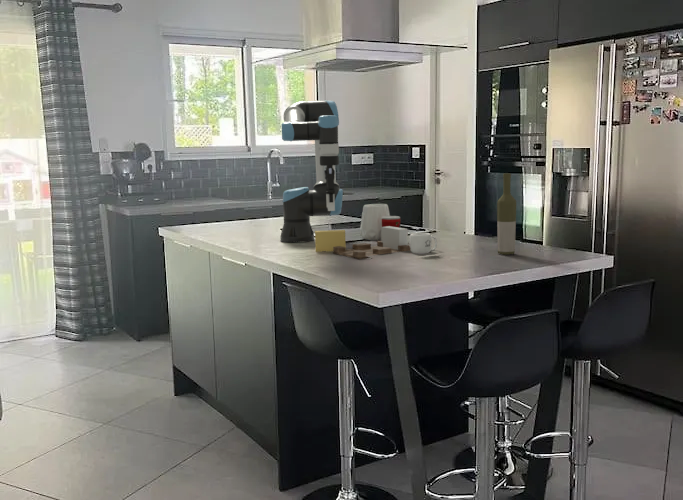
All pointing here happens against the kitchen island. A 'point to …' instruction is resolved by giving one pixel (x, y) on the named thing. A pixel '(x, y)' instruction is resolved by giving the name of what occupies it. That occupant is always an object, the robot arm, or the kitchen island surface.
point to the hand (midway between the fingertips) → (330, 209)
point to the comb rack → (367, 250)
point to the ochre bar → (329, 240)
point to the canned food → (391, 221)
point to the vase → (373, 220)
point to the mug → (421, 243)
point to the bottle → (506, 219)
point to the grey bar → (394, 237)
